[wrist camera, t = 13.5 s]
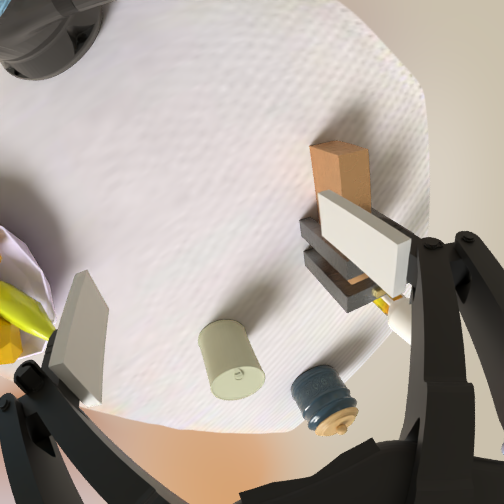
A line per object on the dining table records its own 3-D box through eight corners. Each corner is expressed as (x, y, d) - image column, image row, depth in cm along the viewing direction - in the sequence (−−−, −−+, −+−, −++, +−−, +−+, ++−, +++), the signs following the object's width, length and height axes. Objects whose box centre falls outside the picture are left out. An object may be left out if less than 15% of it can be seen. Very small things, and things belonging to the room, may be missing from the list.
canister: (340, 359, 71) (376, 409, 56) (327, 389, 76) (356, 437, 61) (295, 369, 67) (328, 428, 52) (285, 400, 72) (312, 453, 57)
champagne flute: (372, 257, 57) (456, 329, 37) (379, 278, 61) (454, 348, 41) (347, 277, 57) (426, 357, 37) (355, 297, 61) (426, 373, 41)
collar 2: (303, 251, 51) (349, 300, 39) (360, 230, 53) (413, 269, 41) (305, 265, 53) (349, 315, 40) (360, 244, 55) (411, 284, 42)
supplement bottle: (363, 297, 62) (391, 325, 53) (377, 276, 60) (407, 302, 52) (378, 301, 65) (405, 328, 56) (391, 281, 63) (419, 306, 54)
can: (244, 314, 54) (266, 361, 44) (246, 348, 58) (266, 394, 48) (194, 325, 51) (207, 376, 41) (201, 359, 56) (215, 407, 46)
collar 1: (299, 220, 48) (346, 261, 36) (359, 201, 50) (414, 233, 38) (301, 236, 50) (347, 280, 38) (360, 216, 52) (412, 251, 40)
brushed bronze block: (309, 146, 43) (338, 155, 36) (337, 140, 44) (368, 149, 37) (323, 274, 55) (345, 298, 48) (346, 265, 56) (370, 287, 49)
